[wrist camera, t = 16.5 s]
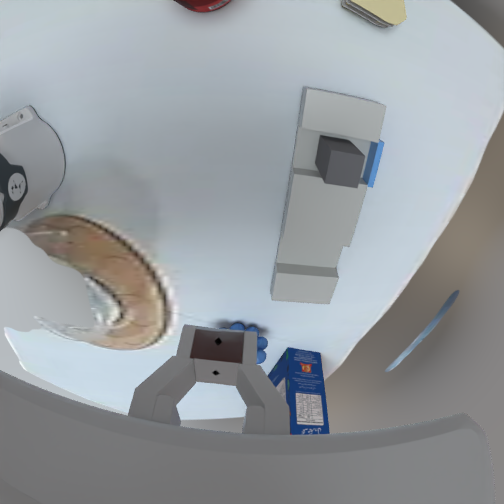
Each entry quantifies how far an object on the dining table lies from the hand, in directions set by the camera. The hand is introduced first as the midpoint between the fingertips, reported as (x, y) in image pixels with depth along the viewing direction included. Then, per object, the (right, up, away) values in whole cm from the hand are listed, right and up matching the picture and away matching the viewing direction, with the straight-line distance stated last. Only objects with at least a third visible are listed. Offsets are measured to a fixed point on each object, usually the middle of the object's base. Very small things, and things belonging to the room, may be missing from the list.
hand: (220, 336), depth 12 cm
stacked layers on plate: (+16, +35, +13) cm, 40 cm away
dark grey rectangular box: (+12, +17, +25) cm, 32 cm away
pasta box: (+9, -29, +59) cm, 67 cm away
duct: (+11, +10, +31) cm, 34 cm away
